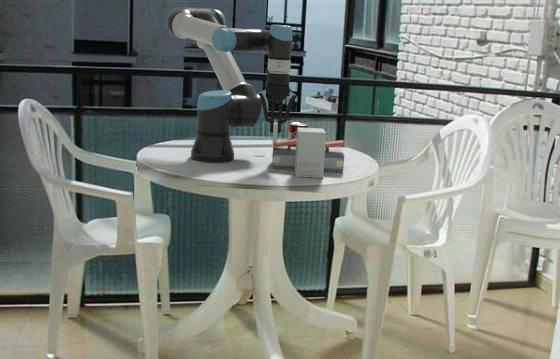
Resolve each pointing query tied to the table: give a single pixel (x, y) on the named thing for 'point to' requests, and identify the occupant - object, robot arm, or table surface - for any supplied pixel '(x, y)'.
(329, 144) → the right rocker
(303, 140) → the supplement box
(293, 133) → the soda can
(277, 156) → the switch unit
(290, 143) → the left rocker
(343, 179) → the table surface
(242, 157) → the table surface
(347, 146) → the table surface
